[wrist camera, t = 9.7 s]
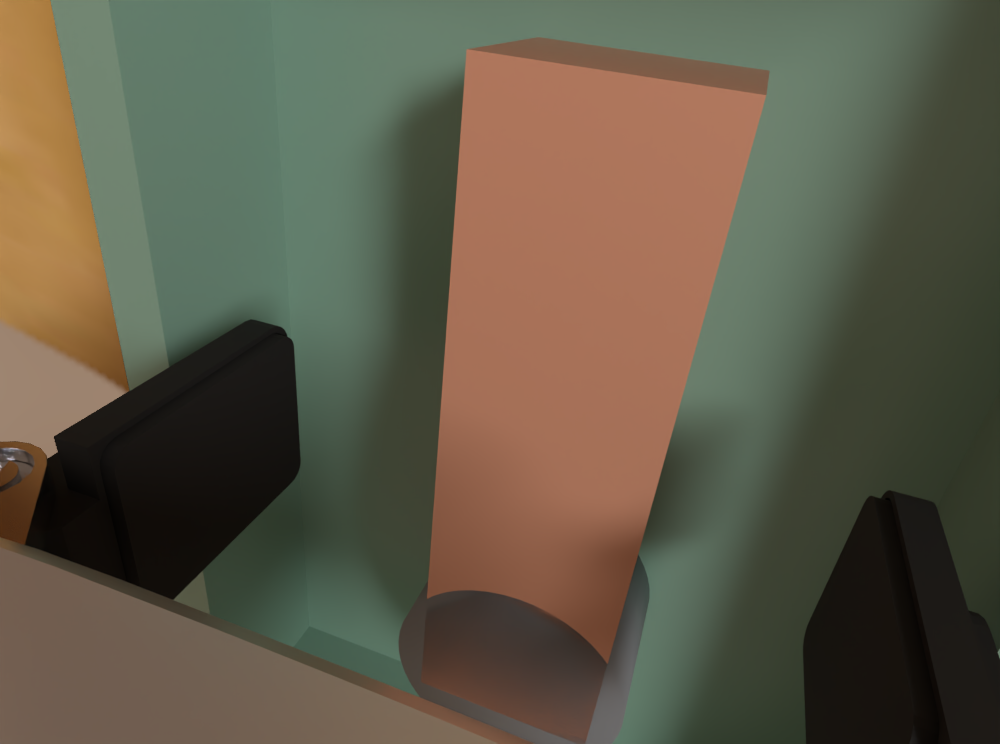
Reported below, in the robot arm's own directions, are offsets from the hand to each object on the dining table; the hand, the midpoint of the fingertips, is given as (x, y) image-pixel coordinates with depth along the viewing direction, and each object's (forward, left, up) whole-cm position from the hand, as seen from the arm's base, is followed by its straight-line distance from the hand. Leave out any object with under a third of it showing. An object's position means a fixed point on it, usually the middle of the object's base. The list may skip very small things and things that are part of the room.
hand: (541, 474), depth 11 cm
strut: (0, 0, -3) cm, 3 cm away
